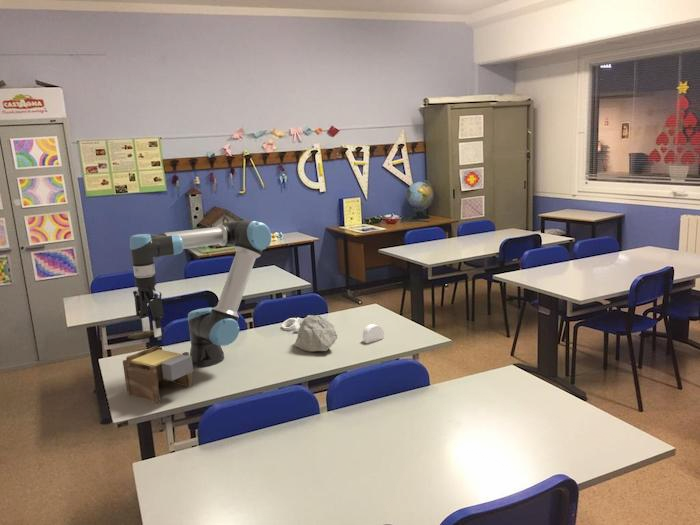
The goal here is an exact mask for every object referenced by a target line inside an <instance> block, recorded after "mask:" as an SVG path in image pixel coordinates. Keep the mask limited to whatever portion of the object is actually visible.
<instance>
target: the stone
mask: <svg viewBox="0 0 700 525" xmlns="http://www.w3.org/2000/svg"><path fill="white" fill-rule="evenodd" d="M162 332H163V329H161V333H162ZM152 336H154V329H150V331H144V332H143V331H140V332H135V333H133V334H130V335H128V336H126V338H128V339H143V338H148V337H152Z"/></svg>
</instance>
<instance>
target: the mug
mask: <svg viewBox="0 0 700 525" xmlns="http://www.w3.org/2000/svg"><path fill="white" fill-rule="evenodd" d="M304 319H305V318H301V317H291V318H288V319H286V320H284V321H283V322H282V325H281V327H282V329H283V330H285V331H295V330H297V329H298V330H299V328H300V326H301V324H302V322H303V320H304ZM299 321H300V323H299Z"/></svg>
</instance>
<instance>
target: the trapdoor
mask: <svg viewBox="0 0 700 525" xmlns="http://www.w3.org/2000/svg"><path fill="white" fill-rule="evenodd" d="M131 362H133V363H137V364H142V365H146V366H158V365H160V364H161V365H162V372H163V379H167V380H171V381H173V380H175V379H178V378H180V377H182V376H184V375H186V374H189V373H191V374H192V373H193V372H194V366H193V364H192V356H187V355H182V353H179V352H175V351H169V350H163V349H162V350H156V351H153V352H151V353H148V354H146V355H143V356H141V357H138V358H135V359H133V360H131Z"/></svg>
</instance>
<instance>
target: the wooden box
mask: <svg viewBox="0 0 700 525" xmlns="http://www.w3.org/2000/svg"><path fill="white" fill-rule="evenodd" d="M156 350H163V347H162V346H158V345H154V346H153V347H149V348H147V349H144V350H141V351H139V352H137V353H134V354H131V355H128V356H126V359H123V360H122V366H123V372H124V380H125V387H126V394H127V396H132V397H136V398H139V399H142V400H145V401H149V402H153V403H154V404H159V403H161V396H160V389H159V388H160V387H159V382H161V381H166V382H171V383H173V384H178V385H182V386H186V387H187V388H191V387H192V386H193V376H192V372H191V373H189V374H186V375H184V376H182V377H180V378H178V379H175V380H173V381H171V380H167V379H163V372H162V365H161V364H160V365H158V366H146V365H142V364H137V363H133V362H131V360H133V359H135V358H138V357H141V356H143V355H146V354H148V353H151V352H153V351H156ZM181 355H187V356H189V355H190V351H189V352H187V351H185V352H182V353H181Z"/></svg>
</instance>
